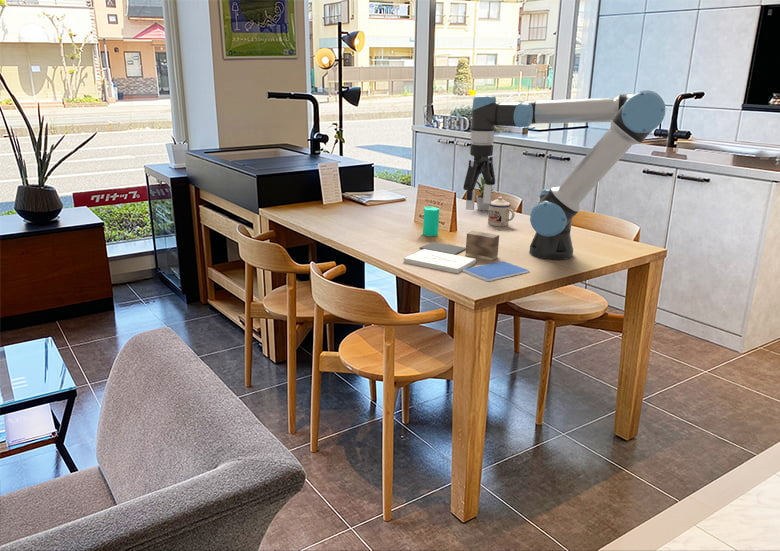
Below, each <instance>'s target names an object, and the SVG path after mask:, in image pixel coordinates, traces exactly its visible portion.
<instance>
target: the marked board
mask: <svg viewBox="0 0 780 551" xmlns="http://www.w3.org/2000/svg"><path fill="white" fill-rule="evenodd" d="M403 263H404V264H405V263H406V264H410V265H415V266H420V267H425V268H429V269H430V268H431V269H433V270H438V271H445V272H448V273H454V274H459V273H461V272H462V270H463V269H467V268H471V266H473V265H475V264H476V263H477V258H475V257H470V256H468V257H467V256H464V255H463V256H462V255H458V254H456V255H453V254H448V253H443V252H437V251H432V250H427V249H420V250H419V251H417V252H415V253H412V254H410V255H407V256H405V257H403Z"/></svg>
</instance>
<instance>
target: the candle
mask: <svg viewBox="0 0 780 551" xmlns="http://www.w3.org/2000/svg"><path fill="white" fill-rule="evenodd" d="M422 222H423V223H422V226H423V227H422V234H423V236H425V237H426V236H427V237H436V236H438V235H439V225H440V224H439V222H440V208H439V207H435V206H423V221H422Z"/></svg>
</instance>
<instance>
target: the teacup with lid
mask: <svg viewBox="0 0 780 551" xmlns="http://www.w3.org/2000/svg"><path fill="white" fill-rule="evenodd" d="M510 213H511V217H510ZM487 216H488V217H487V224H488V225H490V226H493V227H506V226H508V225H509V223H510V221H512V220H514V218H515V211H514V210H513V209H512V208H511V203H510V202H508V201H507V200H505V199H504V198H503V197H502V196H498V197H497V198H496V199H494V200H491V204H489V210H488V215H487Z"/></svg>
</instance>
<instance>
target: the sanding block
mask: <svg viewBox="0 0 780 551" xmlns="http://www.w3.org/2000/svg"><path fill="white" fill-rule="evenodd" d="M465 239H466V242H465V248H466V250H465V254H464V255H465V257H467V256H468V257H470V258H476V259H477V258H479V259H483V260H487V261H493V260H495V259H497V258H498V254H499V242H500V235H499V234H494V233H491V232H490V233H488V232H482V231H477V230H471V231H468V232H467V233H466V238H465Z"/></svg>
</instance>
